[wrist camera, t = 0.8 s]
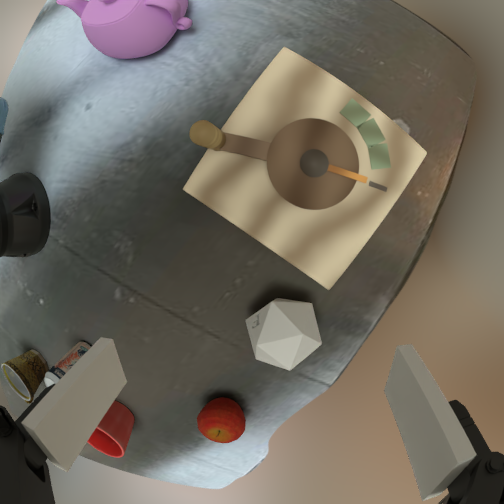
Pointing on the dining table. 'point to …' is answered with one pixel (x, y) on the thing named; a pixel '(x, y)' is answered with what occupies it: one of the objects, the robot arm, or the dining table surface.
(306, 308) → the die
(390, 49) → the dining table surface
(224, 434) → the apple
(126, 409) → the flower pot
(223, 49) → the dining table surface
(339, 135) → the dial
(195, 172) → the board
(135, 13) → the teapot
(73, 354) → the beer can
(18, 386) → the ceramic cup
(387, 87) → the dining table surface
